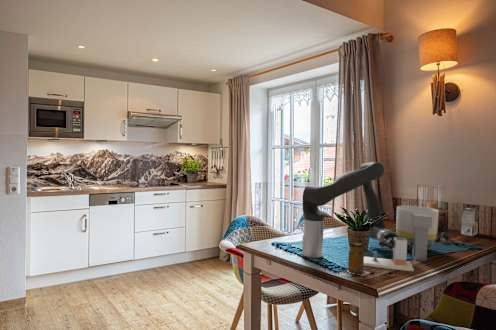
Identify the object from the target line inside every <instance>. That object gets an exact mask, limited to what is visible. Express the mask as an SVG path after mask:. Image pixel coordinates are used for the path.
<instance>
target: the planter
mask: <svg viewBox="0 0 496 330" xmlns="http://www.w3.org/2000/svg"><path fill="white" fill-rule="evenodd" d="M439 212H440V211H439V209H435V208H432V207H427V206H420V205H419V206H418V205H398V206H396V218H395V219H396V220H395V221H396V222H395V228H396V229H395V234H396V235H397V236H398V238H405V239H407V240H409V241H411V242H413V229H414V225H413V224H412V223H411V218H412V213H425V214H429V215H430V216H431V217H432V224H431V228H428V243H427V250H428V249H430V248H432V247H433V246H434V244H435V243H436V242H435V240H436V238H437V237H438V236H437V235H438V228H439V227H438V226H439Z"/></svg>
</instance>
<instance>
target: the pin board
mask: <svg viewBox="0 0 496 330" xmlns="http://www.w3.org/2000/svg"><path fill="white" fill-rule="evenodd" d="M363 267H374V268H380V269H389V270H397V271H398V270H400V271H405V272H407V271H408V272H414V270H415V269H414V267H413V265H412V264H411V261H409V260H408V261H407V260H406V266H403V265H395V264H394V263H393V258H392V259H390V258H383V257H382V258H381V257H378V251H374V252H373V257H371V256H365V255H364V265H363Z"/></svg>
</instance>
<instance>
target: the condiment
mask: <svg viewBox="0 0 496 330" xmlns="http://www.w3.org/2000/svg"><path fill="white" fill-rule="evenodd" d="M349 246H350V247H349V249H348V261H347V263H348V264H347V270H348V271H349V272H351V273H355V274H354V276H357V275H356V274H362V273H363V271H364V272H365V273H367V274H368V275H370V274H371V272H369V271H365V270H364V256H365V251H364V244H363V243H362V242H355V241H352V242H350V245H349ZM369 273H370V274H369ZM359 277H362V278H363V276H361V275H360V276H359Z"/></svg>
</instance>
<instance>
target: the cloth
mask: <svg viewBox="0 0 496 330" xmlns="http://www.w3.org/2000/svg"><path fill="white" fill-rule="evenodd" d="M434 243H435V244H437V245H440V246H442V245H444V246H449V247H454V246H455V247H457V246H462V245H463V242H461V241H459V240H454V239H451V237H450V236H449V235H448V234H447V232H444V231H443V232H441V233H440V234H439V235H438V236H436V240H435V242H434ZM456 245H457V246H456Z"/></svg>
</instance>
